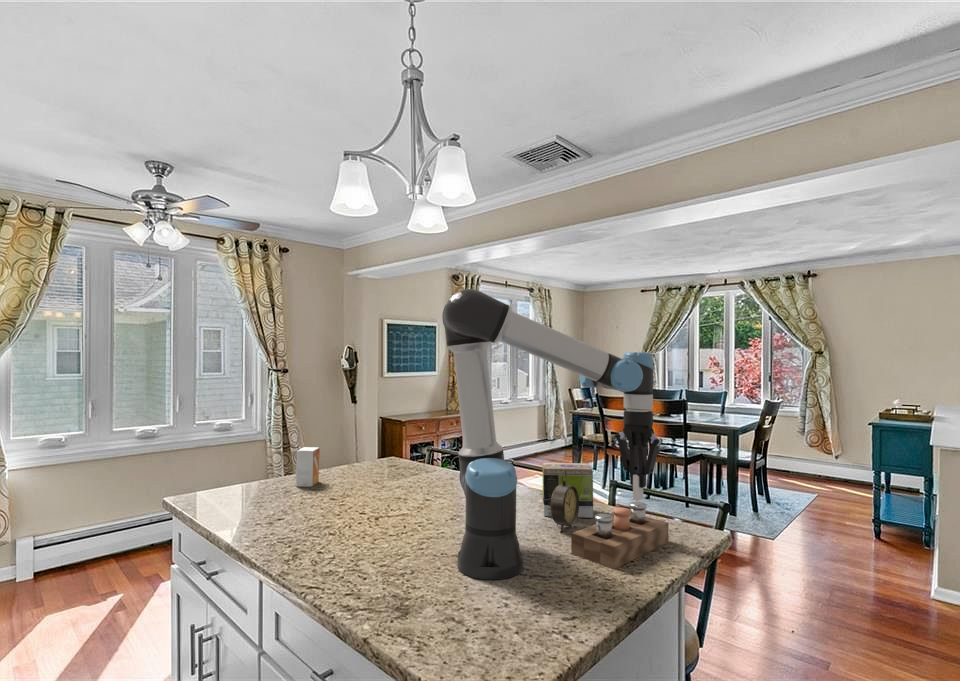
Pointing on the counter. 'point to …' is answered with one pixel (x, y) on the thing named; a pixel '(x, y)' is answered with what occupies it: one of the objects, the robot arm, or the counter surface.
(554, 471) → the tea box
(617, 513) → the terracotta plug
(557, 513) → the alarm clock
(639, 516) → the grey plug far
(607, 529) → the grey plug near
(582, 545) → the walnut block
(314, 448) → the small box
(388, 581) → the counter surface
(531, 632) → the counter surface
